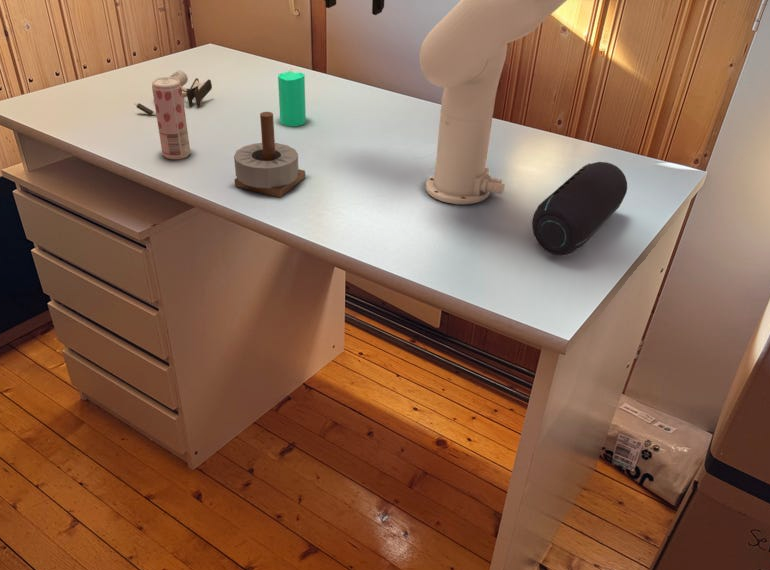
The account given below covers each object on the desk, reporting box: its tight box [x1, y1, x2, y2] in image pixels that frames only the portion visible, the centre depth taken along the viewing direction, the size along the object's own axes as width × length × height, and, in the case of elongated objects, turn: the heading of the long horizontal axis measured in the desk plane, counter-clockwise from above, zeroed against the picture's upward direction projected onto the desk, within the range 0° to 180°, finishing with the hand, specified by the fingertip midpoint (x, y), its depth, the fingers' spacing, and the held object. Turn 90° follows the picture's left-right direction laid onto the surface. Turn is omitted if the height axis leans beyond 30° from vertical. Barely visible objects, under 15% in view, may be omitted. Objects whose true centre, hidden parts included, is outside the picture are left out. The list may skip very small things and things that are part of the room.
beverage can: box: [151, 76, 191, 160], centre depth 144 cm, size 6×6×15 cm
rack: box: [234, 111, 306, 198], centre depth 136 cm, size 10×10×14 cm
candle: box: [277, 70, 307, 127], centre depth 161 cm, size 6×6×12 cm
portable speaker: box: [531, 161, 628, 256], centre depth 125 cm, size 25×10×10 cm, turn 145°
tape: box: [233, 142, 300, 188], centre depth 138 cm, size 12×12×4 cm
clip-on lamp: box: [133, 69, 213, 116], centre depth 169 cm, size 12×6×18 cm
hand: (353, 9), depth 134 cm, fingers open, 9 cm apart
